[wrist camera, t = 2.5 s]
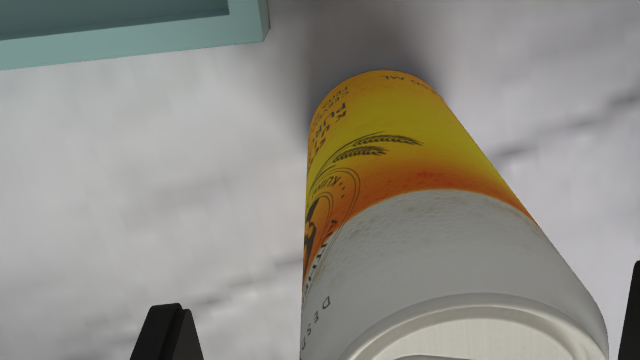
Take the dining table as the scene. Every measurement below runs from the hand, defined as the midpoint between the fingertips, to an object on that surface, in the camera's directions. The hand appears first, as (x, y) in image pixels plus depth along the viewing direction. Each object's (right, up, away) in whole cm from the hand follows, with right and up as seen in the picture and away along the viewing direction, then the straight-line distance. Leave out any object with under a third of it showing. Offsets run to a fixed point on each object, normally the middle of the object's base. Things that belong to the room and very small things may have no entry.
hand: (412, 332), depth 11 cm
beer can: (+1, +5, +12) cm, 13 cm away
